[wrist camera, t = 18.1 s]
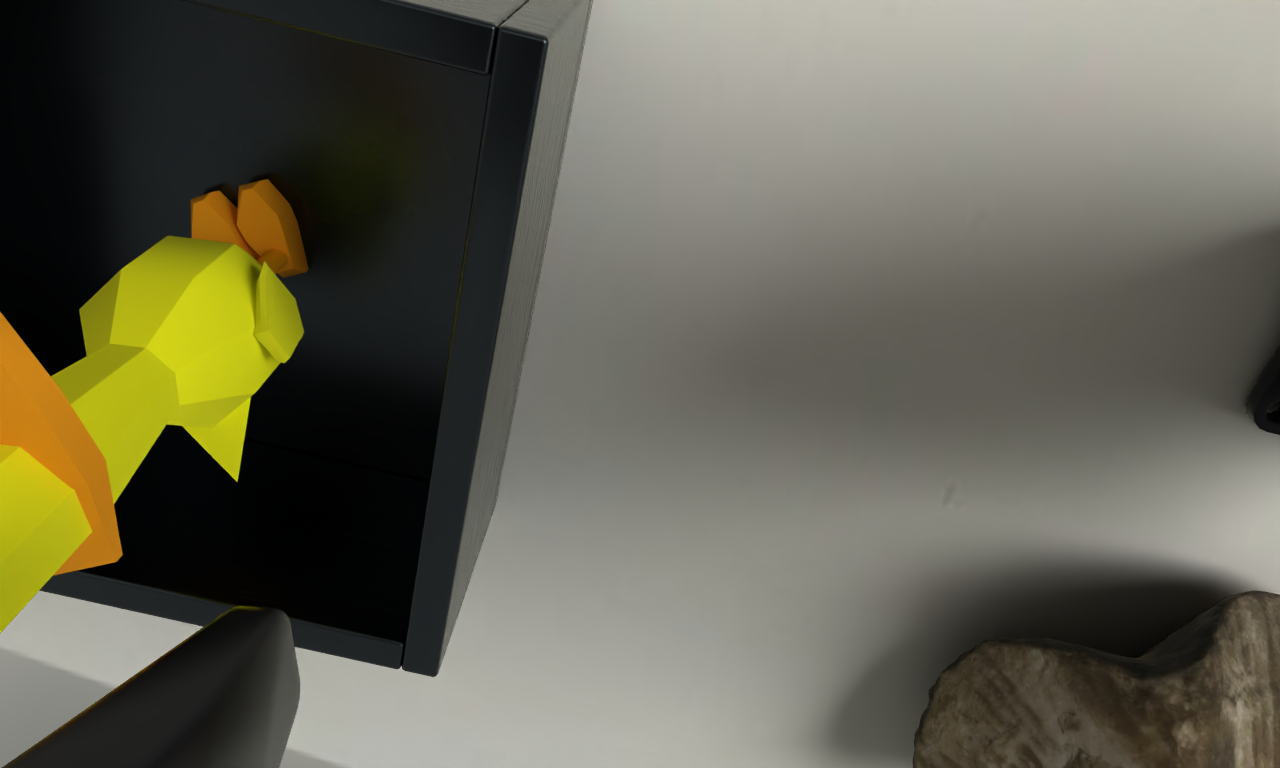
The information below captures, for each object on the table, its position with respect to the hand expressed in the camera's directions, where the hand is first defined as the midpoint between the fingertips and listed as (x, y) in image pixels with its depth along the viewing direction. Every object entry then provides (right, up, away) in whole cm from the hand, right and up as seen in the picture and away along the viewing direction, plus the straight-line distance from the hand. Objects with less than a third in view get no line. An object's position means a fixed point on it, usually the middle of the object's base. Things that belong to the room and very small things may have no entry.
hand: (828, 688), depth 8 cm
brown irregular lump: (+10, -5, +17) cm, 20 cm away
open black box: (-9, +6, +12) cm, 17 cm away
